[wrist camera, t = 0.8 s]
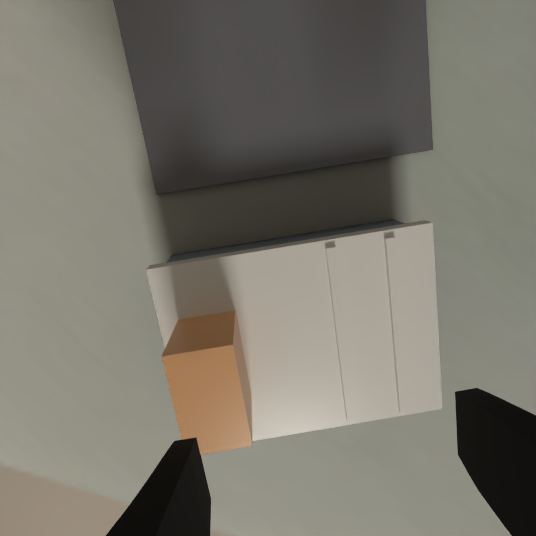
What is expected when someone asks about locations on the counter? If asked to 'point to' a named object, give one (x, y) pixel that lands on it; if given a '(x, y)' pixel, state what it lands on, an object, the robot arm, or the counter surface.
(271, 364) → the lid
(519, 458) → the robot arm
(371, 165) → the counter surface
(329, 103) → the board
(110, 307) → the counter surface
